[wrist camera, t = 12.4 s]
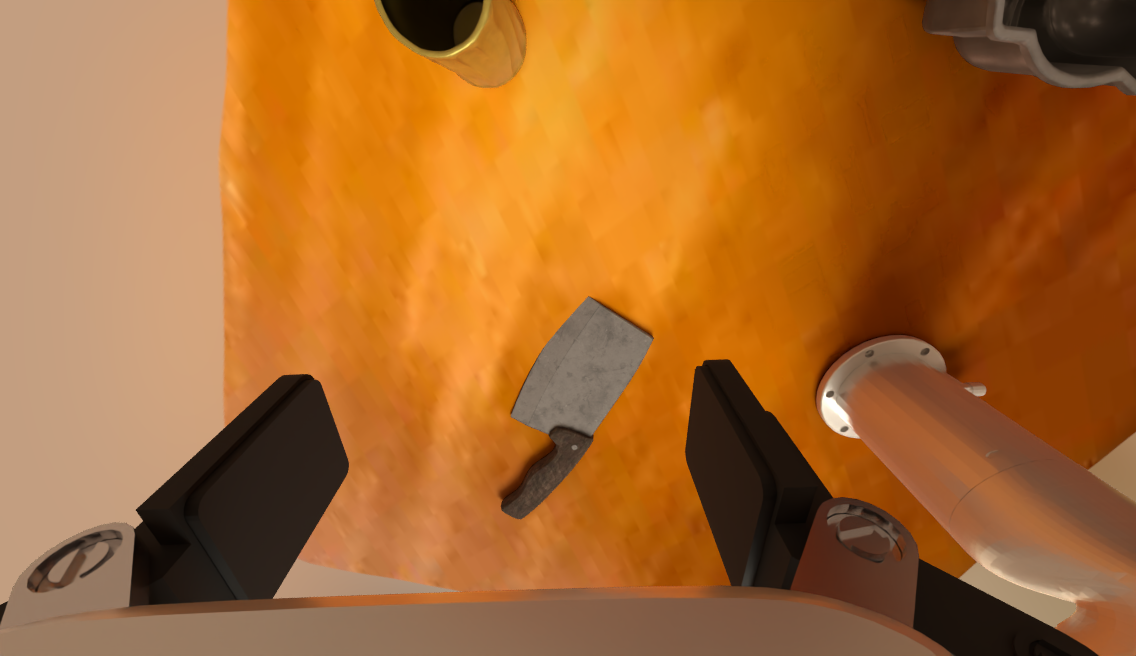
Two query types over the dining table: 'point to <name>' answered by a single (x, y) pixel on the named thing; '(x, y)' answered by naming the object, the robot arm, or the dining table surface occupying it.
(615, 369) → the cleaver
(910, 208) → the dining table surface
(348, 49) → the dining table surface
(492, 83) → the vase
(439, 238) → the dining table surface
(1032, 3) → the bundt pan
